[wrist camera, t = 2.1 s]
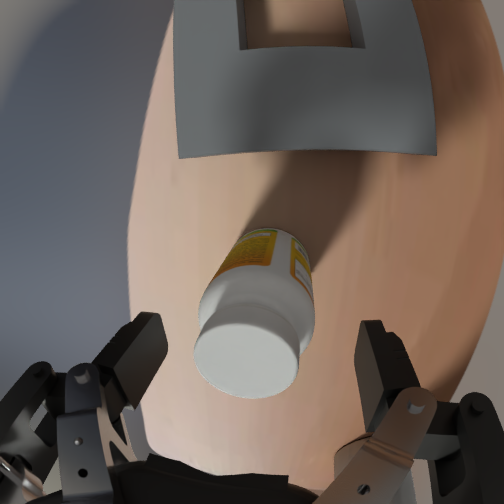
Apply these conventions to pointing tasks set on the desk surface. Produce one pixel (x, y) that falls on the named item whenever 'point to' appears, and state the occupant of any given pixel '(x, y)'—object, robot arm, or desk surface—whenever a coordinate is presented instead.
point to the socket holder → (301, 85)
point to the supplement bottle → (256, 316)
